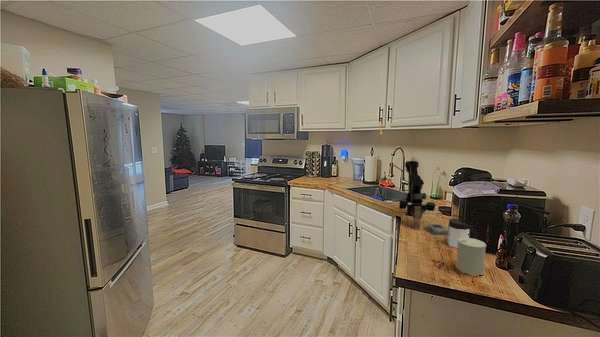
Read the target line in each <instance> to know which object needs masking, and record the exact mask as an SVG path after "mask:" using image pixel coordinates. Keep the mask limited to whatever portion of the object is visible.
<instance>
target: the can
mask: <svg viewBox="0 0 600 337" xmlns="http://www.w3.org/2000/svg"><path fill="white" fill-rule="evenodd" d="M486 249H487V244H486V243H485V242H484V241H483V240H481V239H480V240H479V239H477V238H471V237H469V238H459V239H458V246H457V248H456V251H457V252H456V261H455V262H456V264H455V269H456V268H457V269H458V270H459V271H458V270H457V269H456V270H457V271H458V272H460V271H461V272H464V273H467V274H471V275H483V274H484V275H485V259H486ZM461 272H460V273H461ZM464 273H463V274H464ZM484 275H483V276H484Z"/></svg>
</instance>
